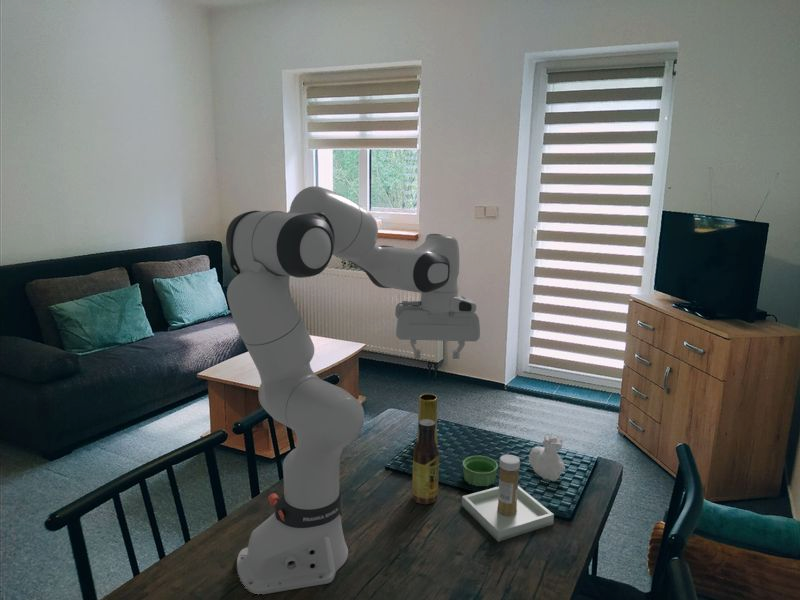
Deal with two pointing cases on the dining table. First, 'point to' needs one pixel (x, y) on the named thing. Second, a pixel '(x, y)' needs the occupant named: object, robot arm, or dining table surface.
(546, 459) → the duck figurine
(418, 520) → the dining table surface
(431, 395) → the vase
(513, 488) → the sprinkles bottle
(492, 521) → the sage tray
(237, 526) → the dining table surface
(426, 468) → the sauce bottle
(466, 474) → the ramekin
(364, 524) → the dining table surface
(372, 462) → the dining table surface
